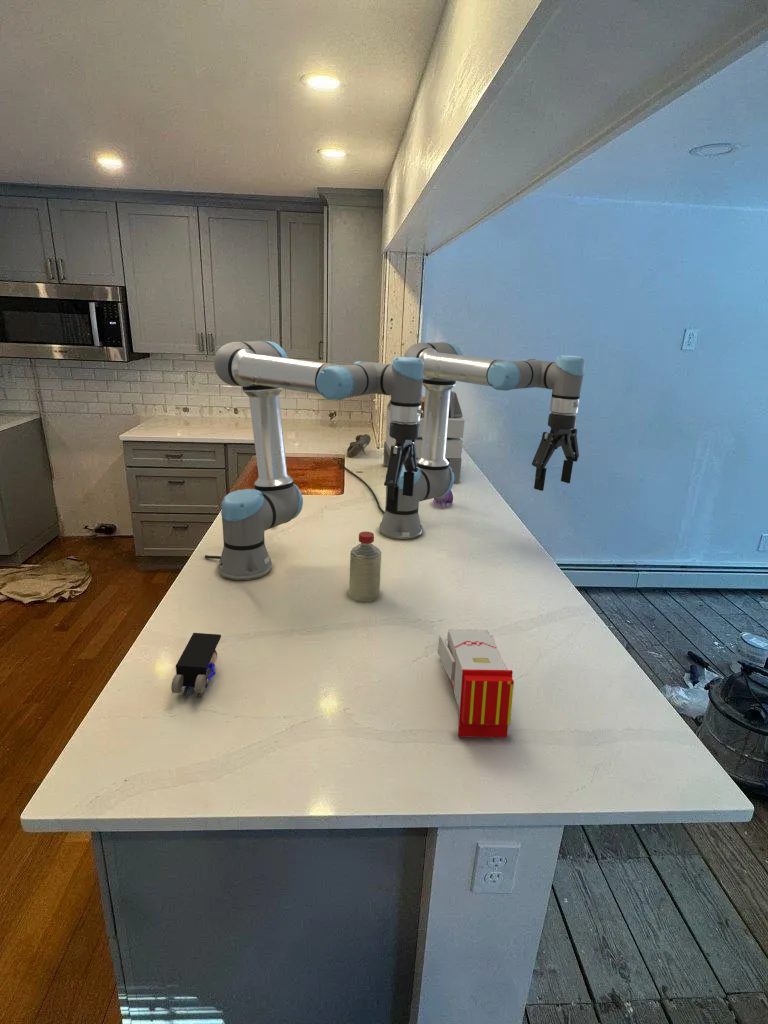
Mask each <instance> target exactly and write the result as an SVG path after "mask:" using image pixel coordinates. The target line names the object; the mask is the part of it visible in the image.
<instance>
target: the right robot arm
mask: <svg viewBox="0 0 768 1024" xmlns="http://www.w3.org/2000/svg"><path fill="white" fill-rule="evenodd" d="M403 357H414V358H419V359H421V360H422V361H423V376H424V379H423V385H422V387H424V389H425V392H424V397H425V404H424V419H423V434H422V449H421V457H420V458H418V459H417V468H418V472H414V487H413V496H406V495H403V480H404V472H405V471H406V470H405V466H404V465H403V467H402V471H401V475H400V478H399V482H398V486H399V496H398V511H397V512H394V511H387V490H388V486H385V504H384V505H385V507H384V508H385V509H384V510H383V509H382V507H381V505H380V503H379V500H378V498H377V495H376V494H375V492H374V491H373V489H372V488H371V486H370V485H369V484H368V483H367V482H365V480H364V479H362V478H361V477H359V476H358V475H357V474H356V473H355V472H353V471H351V470H350V469H348V468H347V467H346V466H344V465H343V464H342V463H341V462H339V461H337V464H338V465H339V466H340V467H342V469H344V470H346V471H347V472H348V473H350V474H351V475H353V476H354V477H355V478H357V479H358V480H359V481H360V482H361V483H363V484H364V485H365V486H366V487H367V489H368V490H369V491H370V492H371V494H372V496H373V499H374V500H375V503H376V505H377V508H378V510H379V511H380V512H381V513H382V514H383V515H382V519H381V522H379V527H378V533H379V534H380V535H381V536H382V537H385V538H387V539H389V540H395V541H410V540H415V539H418V538H420V537H421V536H422V535H423V525H422V524H421V518H420V515H419V507H420V506H419V505H420V502H423V501H427V500H431V499H434V498H438V497H441V496H443V495H445V494H447V493H448V492H449V491H450V490H451V491H452V489H453V488H454V487H453V486H454V484H455V483H454V473H452V469H451V467H450V466H449V462H448V461H447V459H446V458H445V453H446V441H447V428H448V416H449V404H450V392H451V391H452V389H453V388H454V387H455V386H456V384H457V382H461V383H465V384H473V385H479V386H487V387H491V388H492V389H494V390H496V391H503V392H504V391H511V390H520V389H532V388H533V389H534V388H539V389H546V390H551V398H550V404H549V413H548V418H547V419H548V420H547V426H548V427H549V428H550V431H549V432H548V431H543V432H542V435H541V440H540V442H539V445H538V447H537V449H536V452H535V454H534V457H533V460H532V461H531V466H533V467H535V475H534V477H535V478H534V485H533V489H534V490H537V491H539V492H543V491H544V489H545V484H546V483H545V482H546V476H547V468H546V466H547V465H548V463H549V461H550V459H551V457H552V456H553V454H554V453H555V451H556V450H557V449H558V448H560V447H561V449H562V452H563V455H564V458H565V459H563V463H562V468H561V469H562V470H561V475H560V482H562V483H566V484H571V478H572V472H573V466H574V463H576V462H578V461H579V457H580V453H579V444H578V428H576V423H577V419H578V416H577V414H578V412H579V411H578V410H579V406H580V397H581V391H582V385H583V380H584V376H585V365H586V360H585V358H584V357H582V356H578V355H566V354H565V355H564V354H563V355H558V356H557V357H556V360H555V361H549V360H541V359H536V358H524V359H521V360H506V359H505V360H504V359H503V360H502V359H496V358H487V357H479V356H471V355H464V354H463V352H462V350H461V349H460V347H459V346H457V345H456V344H455V343H451V342H445V341H443V342H442V341H441V342H440V341H439V342H438V341H437V342H417V343H414V344H412V345H411V346H409V347H408V348H407V350H406V351H405V353H404V355H403ZM406 472H407V471H406Z"/></svg>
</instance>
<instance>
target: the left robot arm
mask: <svg viewBox="0 0 768 1024" xmlns="http://www.w3.org/2000/svg"><path fill="white" fill-rule="evenodd" d="M213 359H214V360H213V366H214V370H215V374H216V375H217V377H218V378H219V379H220V380H221V381H222V382H223V383H225V384H227V385H230V386H235V387H237V386H239V387H242V392H243V393H244V394H245V395H246V396H248V401H249V409H250V410H249V411H250V418H251V426H252V433H253V441H254V449H255V459H256V465H257V475H258V478H257V479H256V480H255V481H254V483H253V485H254V486H253V487H254V488H244V489H236V490H233V491H231V492H229V493H228V494H226V495H225V496H224V497H223V499H222V501H221V511H220V515H221V524H222V541H223V548H222V551H221V554H220V555H207V554H205V555H204V558H205V559H210V560H219V562H218V573H219V574H220V576H221V577H223V578H225V579H228V580H232V581H251V580H257V579H260V578H262V577H265V576H267V575H268V574H269V573H270V572H271V571H272V567H273V566H272V559H271V558H270V557H271V556H270V555H269V552H268V550H267V547H266V543H265V542H266V541H265V532H266V531H267V530H271V529H274V528H275V527H278V526H281V525H282V524H286V523H289V522H291V521H292V520H294V519H295V518H297V517H298V516H299V515H300V513H301V512H302V510H303V506H304V505H303V504H304V497H303V494H302V491H301V490H300V489H299V486H298V485H296V484H295V483H294V478H292V477H291V476H290V475H289V474H288V469H287V468H288V467H287V459H286V450H285V449H286V448H285V440H284V439H285V438H284V430H283V421H282V411H281V402H280V393H281V392H282V391H283V390H288V391H289V390H290V391H294V392H295V391H296V392H302V393H308V394H314V395H320V396H322V397H323V398H324V399H326V400H329V401H341V400H345V399H350V398H354V397H359V396H366V395H373V394H374V395H383V396H390V400H391V407H390V420H391V421H392V422H391V423H390V429H389V436H390V437H391V438H394V439H396V444H395V445H394V446H393V445H392V446H391V451H390V458H389V463H388V467H387V469H386V474H385V480H384V482H383V485H384V486H385V487H386V486H388V490H387V511H394V512H397V511H398V496H399V486H398V482H399V478H400V475H401V471H402V467H403V464H404V466H405V470H406V471H407V472H406V471H405V472H404V480H403V495H406V496H413V487H414V472H418V468H417V456H416V439H417V438H419V431H420V424H419V423H418V422H419V421H420V414H422V413H423V411H422V410H421V397H423V379H424V376H423V361H422V360H421V359H419V358H414V357H404V356H395V357H394V358H393V359H392V363H391V364H390V363H389V364H388V363H382V362H381V363H380V362H372V361H370V360H365V361H364V360H357V361H354V362H353V363H352V364H337V363H328V362H321V361H313V360H304V359H296V358H289V357H288V355H287V353H286V351H285V350H284V349H283V347H282V346H280V344H278V343H276V342H274V341H270V340H269V341H268V340H253V341H252V340H251V341H232V342H227V343H225V344H224V345H222V346H221V347H220V348H219V349H218V350H217V352H216V353H215V356H214V358H213ZM273 527H274V528H273Z"/></svg>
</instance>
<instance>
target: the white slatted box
mask: <svg viewBox="0 0 768 1024" xmlns="http://www.w3.org/2000/svg"><path fill="white" fill-rule="evenodd" d="M424 404H425V396H422V397H421V410H422V411H423V413H422V414H420V421H419V422H418V423H419V424H420V431H419V438H417V439H416V456H417V459H418V458H420V457H421V449H422V434H423V419H424ZM390 407H391V399H390V400H389V402H388V404H387V405H386V413H385V414H386V415H385V423H386V428H385V438H384V442H383V466H384V467H387V468H388V463H389V458H390V451H391V446H392V445H393V446H394V445H395V444H396V439H394V438H391V437H390V436H389V429H390V423H391V422H392V421H391V420H390ZM464 429H465V419H464V418H463V411H462V408H461V405H460V402H459V398H458V395H457V392H455V391H453V390H451V392H450V404H449V416H448V428H447V441H446V453H445V458H446V459H447V461H448V462H449V466H450V467H451V469H452V473H454V484H455V483H456V484H459V483H461V472H462V461H463V460H462V453H463V442H464V441H463V440H462V439H463V438H464V431H465V430H464ZM403 465H404V464H403Z"/></svg>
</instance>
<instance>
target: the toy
mask: <svg viewBox="0 0 768 1024" xmlns="http://www.w3.org/2000/svg"><path fill="white" fill-rule="evenodd" d="M446 640H447V643H446V641H445V639H444V636H443V635H442V634H439V637H438V646H437V656H438V657H439V659H440V661H441V663H442V666H443V668H444V670H445V672H446V674H447V677H448V679H449V681H450V684H451V687H452V690H453V693H454V697H455V701H456V705H457V708H458V711H459V714H458V715H459V716H458V730H457V731H458V732H457V737H458V738H508V731H509V726H510V725H511V717H512V707H513V697H514V696H513V695H514V684H515V680H514V679H513V673H514V671H513V670H512V669H508V667H507V665H506V662H505V661H504V659H503V658H502V655H501V653H500V651H499V649H498V647H497V643H496V639H495V637H494V635H493V634H491V632H490V631H489V629H467V628H466V629H465V628H463V629H461V628H460V629H459V628H448V630H447V639H446Z"/></svg>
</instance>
